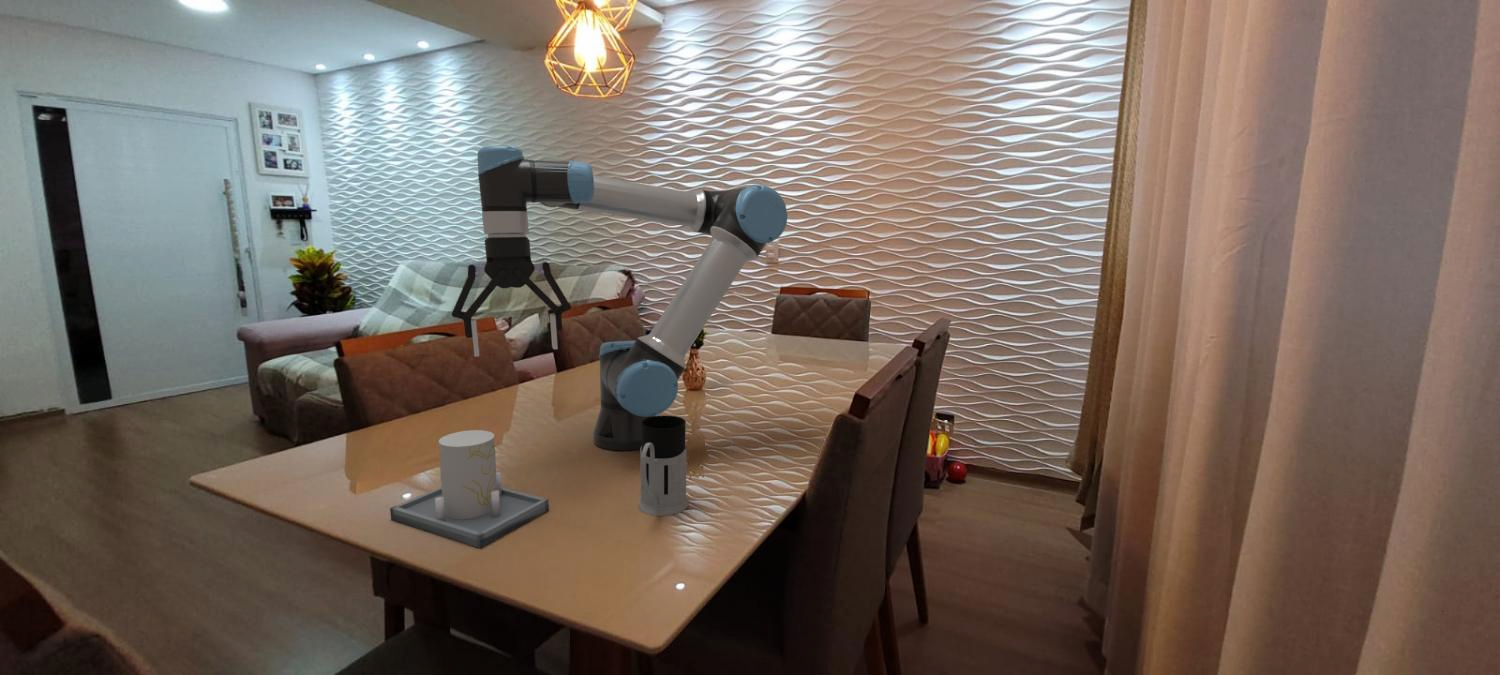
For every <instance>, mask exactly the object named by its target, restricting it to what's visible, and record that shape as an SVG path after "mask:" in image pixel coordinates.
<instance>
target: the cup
mask: <svg viewBox="0 0 1500 675" xmlns="http://www.w3.org/2000/svg"><path fill="white" fill-rule="evenodd" d="M495 439H496V438H495V433H493V432H491V431H488V430H482V429H474V430H463V431H462V430H461V431H458V432H457V431H456V432H453V433H450V434H446V435H444V436H442V437H440V438H439V440H438V450H439V451H438V452H439V467H440V485H441V486H440V487H442V497H444V506H445V516H446V517H448V518H451V519H470V518H476V517H479V516H483V515H485V514H488V513H490V512H492V504H491V491H494V490H497V481H496V472H497V464H496V463H497V460H496V442H495V441H496V440H495Z"/></svg>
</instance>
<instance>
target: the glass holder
mask: <svg viewBox="0 0 1500 675" xmlns="http://www.w3.org/2000/svg"><path fill="white" fill-rule="evenodd" d="M639 451H640V452H639V453H640V456H639V458H640V464H639V465H640V499H639V502H638V505H637V507H639V508H638V510H639V509H640V510H641V511H640V510H639V511H640V512H641V513H643V512H644V513H643V514H645V513H646V514H645V515H648V514H649V516H653V515H654V517H668V516H669V515H670V516H674V515H673V514H675V515H678V514H680V512H681V513H683V512H684V511H686V510H687V509H688V508H687V507H689V506H690V505H689V504H690V503H689V500H688V498H687V446H686V420H685V419H684V418H682V417H680V416H675V415H656V416H654V417H649V418H646V419H644V420H643V421H642V422H641V449H639ZM688 505H689V506H688ZM686 508H687V509H686ZM685 509H686V510H685ZM683 510H684V511H683ZM682 511H683V512H682ZM677 513H678V514H677ZM655 515H656V516H655ZM670 516H669V517H670Z"/></svg>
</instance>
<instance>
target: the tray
mask: <svg viewBox="0 0 1500 675" xmlns="http://www.w3.org/2000/svg"><path fill="white" fill-rule="evenodd" d="M496 481H497V490H494V491H491V504H492V512H490V513H488V514H485V515H483V516H479V517H476V518H470V519H451V518H448V517H446V516H445V506H444V497H442V487H441V486H440V487H437V488H435V489H432V490H430V491H428V492H426V493H423V494H421V495H418V496H416V497H414V498H411V499H409V500H406V501H404V502H401V503H399V504H396V505H393V506H391V507H390V508H389V511H390V512H389V513H390V520H391V521H395V522H397V523H400V524H404V525H407V526H410V527H413V528H415V529H418V530H422V531H425V532H428V533H431V534H435V535H438V536H441V537H443V538H448V539H450V540H454V541H456V542H459V543H462V544H465V545H469V546H472V547H475V548H479V549H482V548H483V547H486V546H487V545H489V544H491V543H493V542H494V541H497V540H498V539H500V538H502V537H503V536H505V535H507V534H509V533H511V532H513V531H514V530H516V529H518V528H519V527H521V526H523V525H525V524H527V523H529V522H530V521H533V520H534V519H536V518H537V517H540V516H542V515H543V514H545V513H547V512H549V510H550V508H549V507H550V505H549V499H548V498H545V497H541V496H536V495H533V494H531V493H530V494H529V493H525V492H521V491H519V490H513V489H509V488H508V487H506V488H505V487H503V484H502V472H500V471H496Z"/></svg>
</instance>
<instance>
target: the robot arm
mask: <svg viewBox="0 0 1500 675" xmlns="http://www.w3.org/2000/svg"><path fill="white" fill-rule="evenodd" d="M592 168H593V167H592V165H590V164H589V163H588V162H585V161H584V162H583V161H575V160H533V159H527V158H525V156H524V155H523V151H522V149H521V148H519V147H517V146H512V145H511V146H508V145H485V146H482V147H480V149H479V150H478V151H477V171H478V172H477V175H478V184H479V193H480V194H479V195H480V203H481V213H482V214H481V216H482V226H483V229H482V230H483V234H485V235H487V237H486V238H485V239H484V247H485V248H484V249H485V258H486V263H485V265H477V264H474V263H470V264H469V265H468V266H467V278H466V281H465V282H464V285H463V287H462V290H461V292H460V294H459V296H458V298H457V301H456V303H455V305H454V308H453V310H452V313H451V316H452V317H453V318H456V319H460V320H462V321H463V323H464V334H465V337H466V339H469V338H470V339H471V338H472V344H473V345H472V346H473V354H474V357H480V348H479V339H478V337H479V336H478V328H477V327H478V326H477V318H473V317H474V315H475V314H476V313H477V311H478V310H479V309H480V308H481V307H482V305H483V304H484V302H485V301H486V300H487V299H488V297H489V296H490V295H491V294H492V293H493V291H494V290H495V289H496V288H497V287H498V288H501V289H509V288H516V289H517V288H522V287H524V286H525V285H526V286H527V287H528V288H529V289H530V290H531V291H532V292H533V293H534V294H535V295H536V296H537V297H538V298H539V299H540V300H541V301H542V302H543V303H544V304H545V305H547V307H548V308H549V309H550V310H552V312H553V313H549V322H550V323H549V324H550V334H551V348H552V349H553V350H559V348H558V336H557V335H558V333H557V332H560V331H561V332H562V330H563V320H562V316H563V313H565V312H567V311H570V310H571V309H572V306H571V304H570V303H569V301H568V299H567V297H566V296H565V295H564V294H565V293H563V291H562V289H561V288H560V286H559V284H558V283H557V281H556V279H555V278H554V276H553V275H552V272H551V266H550V262H547V261H542V262H540V263H533V262H532V256H531V242H530V239H529V237H527V235H528V234H529V233H530V230H529V218H528V208H527V203H533V204H536V203H540V204H541V205H543V206H544V207H549V208H563V209H571V210H579V211H584V212H590V213H598V214H604V215H609V216H610V215H611V216H618V217H623V218H625V217H626V218H630V219H637V220H644V221H651V222H657V223H662V224H668V225H669V224H671V225H674V226H675V225H676V226H683V227H689V229H690V230H691V231H692V232H693V233H699V234H704V235H709V236H711V240H710V242H709V243H708V244H707V246H706V247H705V249H704V250H703V252H702V253H701V255H700V257H699V258H698V260H697V261H696V263H695V264H694V266H693V267H692V269H691V271H690V272H689V273H688V275H687V277H686V278H685V279H684V281H683V282H682V284H681V285H680V287H679V288H678V290H677V292H675V295H674V296H673V298H672V299H671V301H670V302H669V303H668V305H667V307H666V308H665V310H664V311H663V313H662V314H661V316H660V317H659V319H658V321H657V322H656V324H655V325H654V326H653V328H652V329H651V331H650V333H648V334H647V335H643V336H639V337H637V339H636V340H619V341H618V340H617V341H607V342H603V343H602V344H601V345H600V347H599V355H598V359H599V377H600V379H599V380H600V382H599V384H600V390H599V391H600V410H599V412H598V417H597V420H596V423H595V426H594V428H593V433H592V434H593V438H592V439H593V443H594V445H595V446H597V447H599V448H601V449H604V450H605V449H606V450H609V451H636V450H640V449H641V422H642V421H643V420H644V419H646V418H649V417H654V416H659V415H660V414H662V413H663V412H665V411H666V410H668V409H669V408H670V407H671V406H672V405H673V403H675V400H676V398H677V395H678V392H679V382H678V381H679V379H680V378H681V376H682V375H683V374H684V372H685V370H686V368H687V364H686V361H685V357H686V355H687V353H688V352H689V350H690V349H691V347H692V346H693V345H694V343H695V341H696V339H697V338H698V336H699V335H700V333H701V332H702V330H703V329H704V327H705V326H706V324H707V323H708V321H709V319H710V318H711V317H712V315H713V313H714V312H715V311H716V309H717V307H718V306H719V304H720V303H721V301H722V299H723V298H724V296H725V295H726V293H727V292H728V290H729V289H730V287H731V286H732V284H733V282H734V281H735V279H736V278H737V276H738V274H739V273H740V272H741V270H742V269H743V267H744V265H746V263H747V262H751V261H755V260H757V259H758V257H759V256H760V254H761V253H762V252H763V250H764V247H766V245H767V244H769V243H772V242H774V241H775V240H777V239H779V238H780V237H781V235H783V233H784V231H785V229H786V226H787V225H788V224H787V223H788V212H787V211H788V210H787V205H786V203H785V201H784V199H783V197H782V196H781V194H779V192H778V191H776V190H775V189H774V188H772V187H769V186H767V185H763V184H761V185H760V184H751V185H747V186H746V187H740V188H732V189H727V190H726V189H725V190H716V191H715V190H706V189H697V190H696V191H695V192H690V191H684V190H678V189H672V188H668V187H667V188H666V187H663V186H662V187H661V186H658V185H657V186H655V185H650V184H644V183H639V182H633V181H627V180H621V179H616V178H611V177H605V176H599V175H594V171H593V169H592ZM535 270H536V271H538V273H539V274H540V275H543V276H544V278H545V281H546V282H547V284H548V285H549V286H550V288H551V290H552V291H553V293H554V295H555V296H556V298H557V300H558V301H559V303H560V305H557V304H556V303H555V302H554V301H553V300H552V299H551V298H549V296H548V295H547V294H546V293H545V292H544V291H543V290H542V289H541V288H540V287H538V285H537V284H536V283H534V281H533V280H531V276H532V275H533V273H534V272H535ZM483 272H484V273H485V274H486V276H488V277H489V279H490V281H489V282H488V283H487V284H486V286H485V288H483V289H482V291H481V292H480V294H478V296H477V298H476V299H475V300H474V301H473V302H472V304H470V305H469V307H468V309H467V310H466V311H462V310H463V307H464V306H465V303H466V301H467V298H468V296H469V294H470V292H471V290H472V287H473V285H474V282H475V280H476V278H479V277H480V276H481V274H482V273H483Z"/></svg>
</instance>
